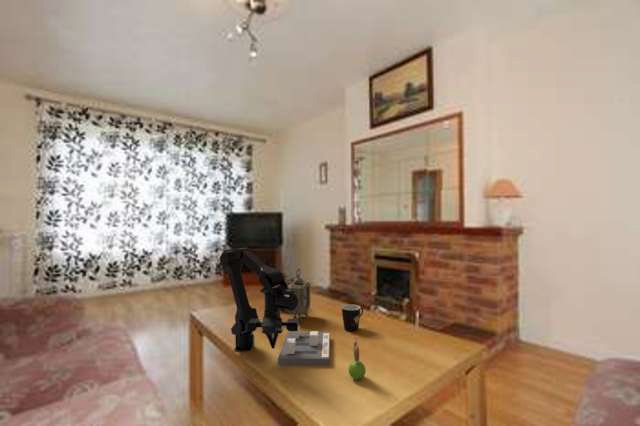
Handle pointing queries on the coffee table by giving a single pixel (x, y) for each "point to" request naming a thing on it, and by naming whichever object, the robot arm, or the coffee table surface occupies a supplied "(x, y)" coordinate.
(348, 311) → the coffee mug
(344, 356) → the coffee table surface
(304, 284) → the tabletop clock
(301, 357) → the switch panel
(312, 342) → the middle slider
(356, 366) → the snail figurine
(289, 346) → the near slider
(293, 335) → the far slider
